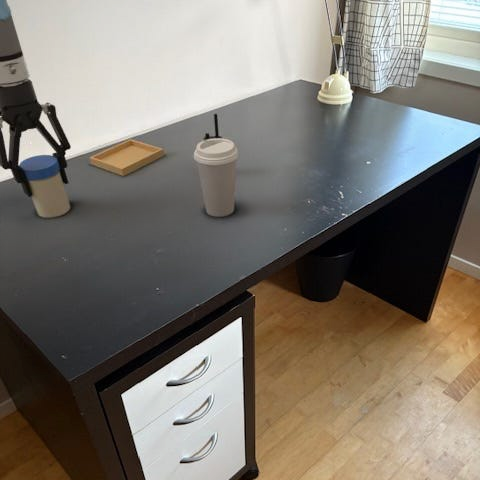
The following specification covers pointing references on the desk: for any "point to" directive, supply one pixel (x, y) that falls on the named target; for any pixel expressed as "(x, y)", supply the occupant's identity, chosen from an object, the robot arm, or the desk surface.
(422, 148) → the desk surface
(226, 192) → the coffee cup
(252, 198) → the desk surface
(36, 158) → the lid
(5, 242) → the desk surface
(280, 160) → the desk surface
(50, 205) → the jar
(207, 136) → the walkie-talkie
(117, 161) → the tray
